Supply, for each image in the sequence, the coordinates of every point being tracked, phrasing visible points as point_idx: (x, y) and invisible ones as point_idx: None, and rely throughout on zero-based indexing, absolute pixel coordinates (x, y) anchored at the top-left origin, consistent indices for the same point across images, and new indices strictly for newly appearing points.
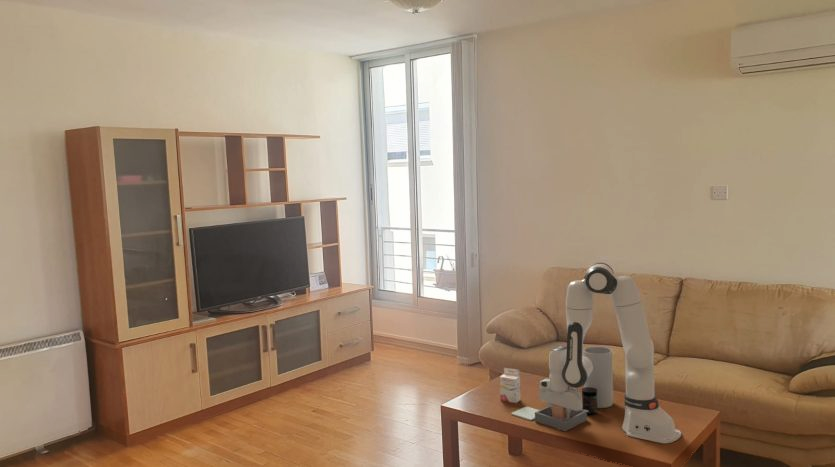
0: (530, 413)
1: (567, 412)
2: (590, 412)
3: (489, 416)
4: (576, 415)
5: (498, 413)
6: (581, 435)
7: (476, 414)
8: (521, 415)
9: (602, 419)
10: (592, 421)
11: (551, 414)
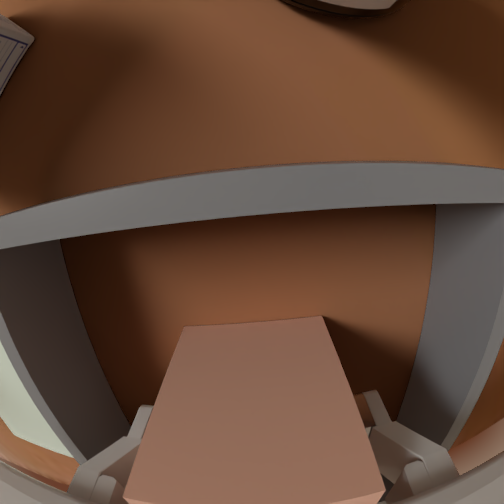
0: (32, 405)
1: (392, 473)
2: (406, 3)
3: (26, 465)
4: (474, 387)
5: (3, 436)
6: (485, 403)
7: (7, 460)
8: (50, 445)
9: (500, 59)
10: (489, 153)
11: (80, 320)
